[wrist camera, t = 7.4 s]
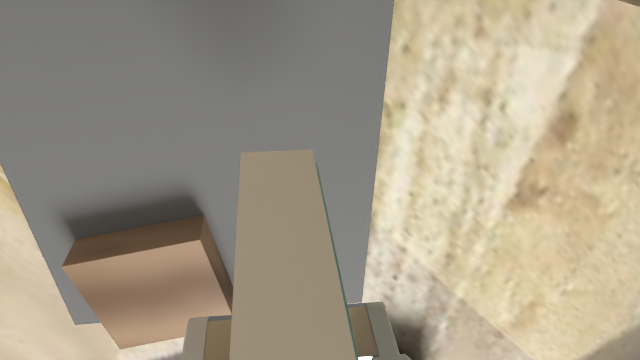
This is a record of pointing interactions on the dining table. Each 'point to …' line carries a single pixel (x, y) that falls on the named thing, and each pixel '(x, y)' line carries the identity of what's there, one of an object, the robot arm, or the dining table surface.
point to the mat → (186, 114)
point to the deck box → (286, 265)
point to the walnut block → (151, 279)
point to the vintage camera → (632, 2)
